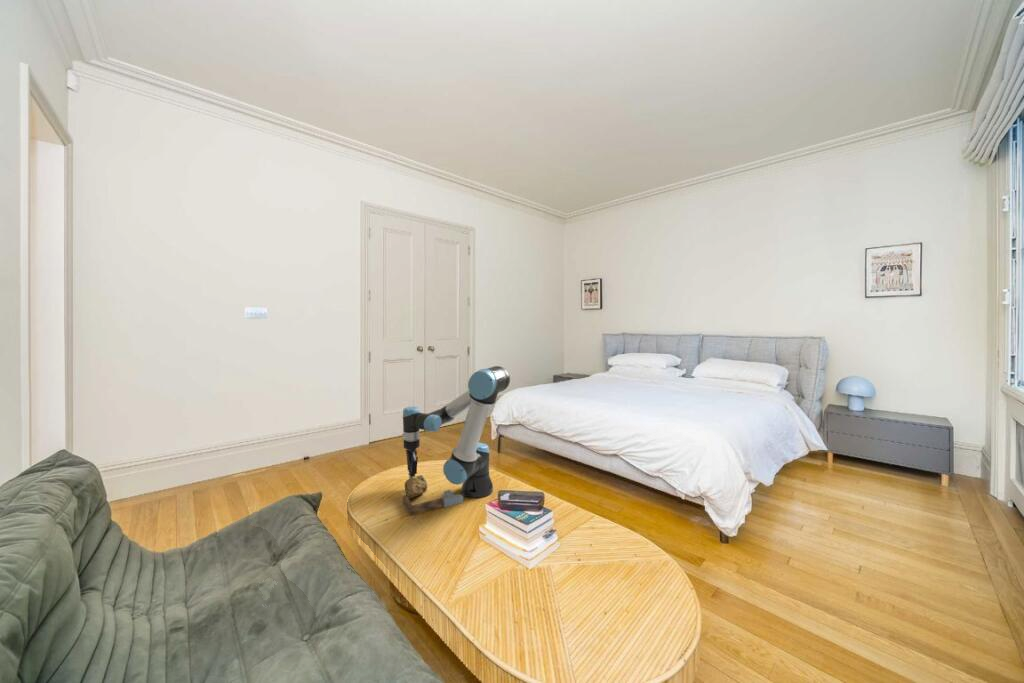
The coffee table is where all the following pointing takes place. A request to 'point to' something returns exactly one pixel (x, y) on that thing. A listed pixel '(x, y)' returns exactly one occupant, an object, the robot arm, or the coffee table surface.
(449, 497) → the t block
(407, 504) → the brown l-shaped block
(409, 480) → the rock
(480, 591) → the coffee table surface
